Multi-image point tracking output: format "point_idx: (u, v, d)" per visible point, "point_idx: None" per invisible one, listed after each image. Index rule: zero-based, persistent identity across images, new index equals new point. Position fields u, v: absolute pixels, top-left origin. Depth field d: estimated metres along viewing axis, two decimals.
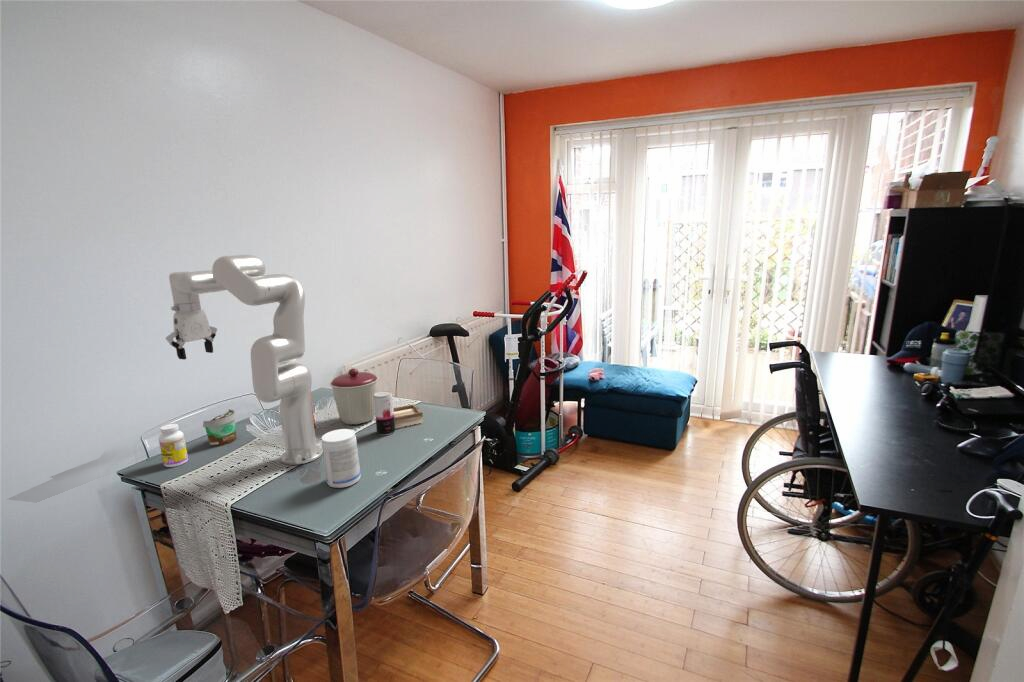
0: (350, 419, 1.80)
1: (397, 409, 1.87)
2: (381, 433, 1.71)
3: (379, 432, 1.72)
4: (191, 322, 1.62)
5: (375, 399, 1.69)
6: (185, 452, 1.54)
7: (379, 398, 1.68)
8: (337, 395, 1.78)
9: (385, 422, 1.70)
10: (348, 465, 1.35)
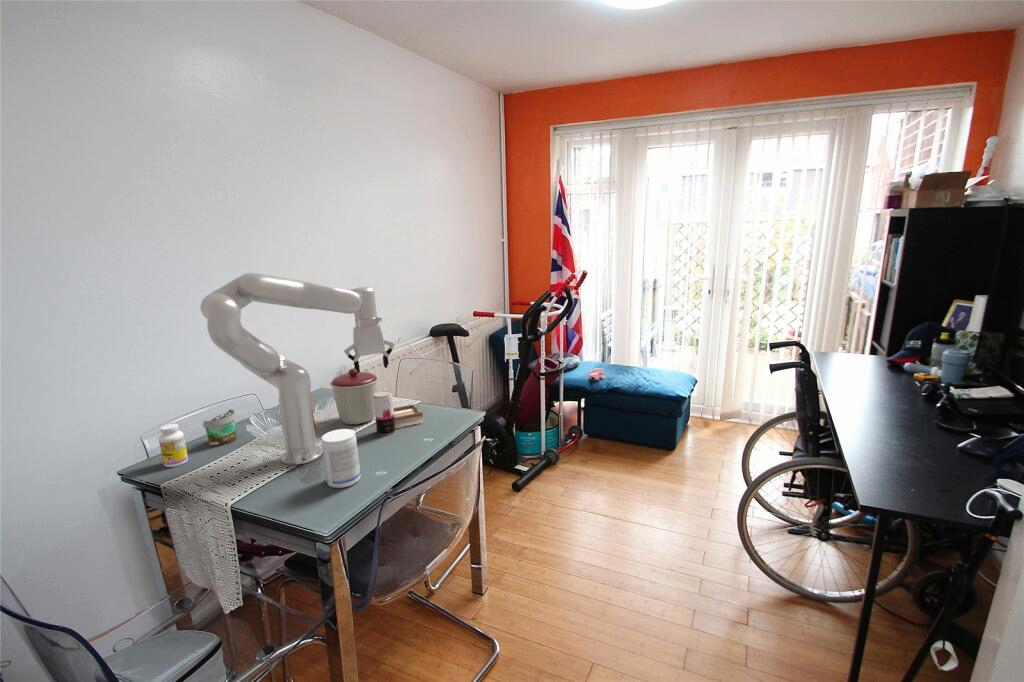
0: (350, 419, 1.80)
1: (397, 409, 1.87)
2: (381, 433, 1.71)
3: (379, 432, 1.72)
4: None
5: (375, 399, 1.69)
6: (185, 452, 1.54)
7: (379, 398, 1.68)
8: (337, 395, 1.78)
9: (385, 422, 1.70)
10: (348, 465, 1.35)
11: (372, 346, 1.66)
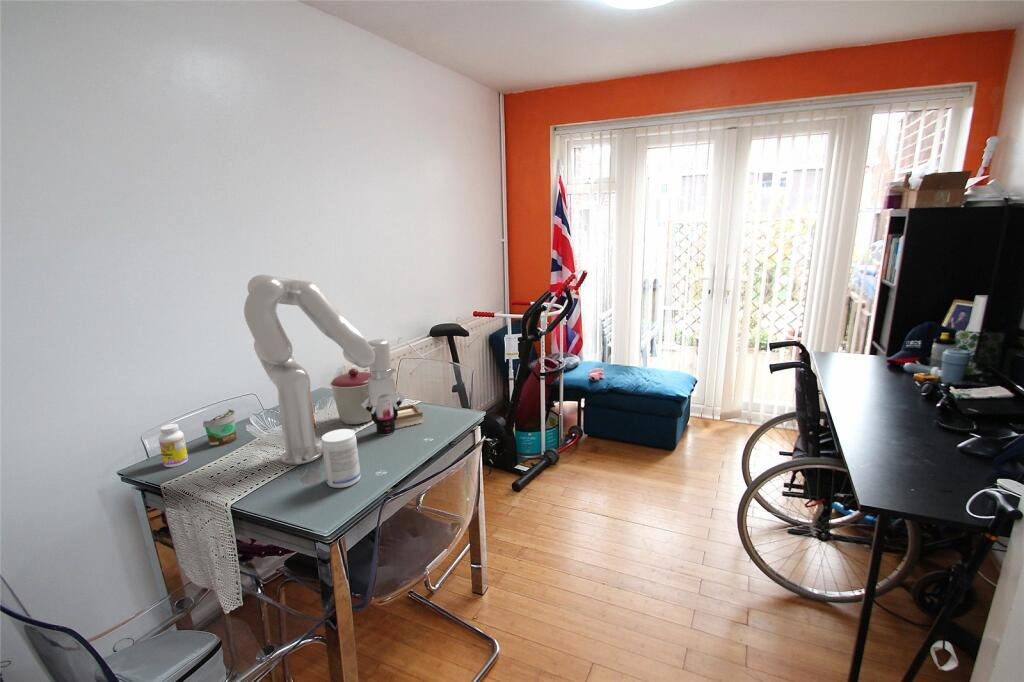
0: (350, 419, 1.80)
1: (397, 409, 1.87)
2: (381, 433, 1.71)
3: (379, 432, 1.72)
4: None
5: None
6: (185, 452, 1.54)
7: (379, 398, 1.68)
8: (337, 395, 1.78)
9: (385, 422, 1.70)
10: (348, 465, 1.35)
11: None
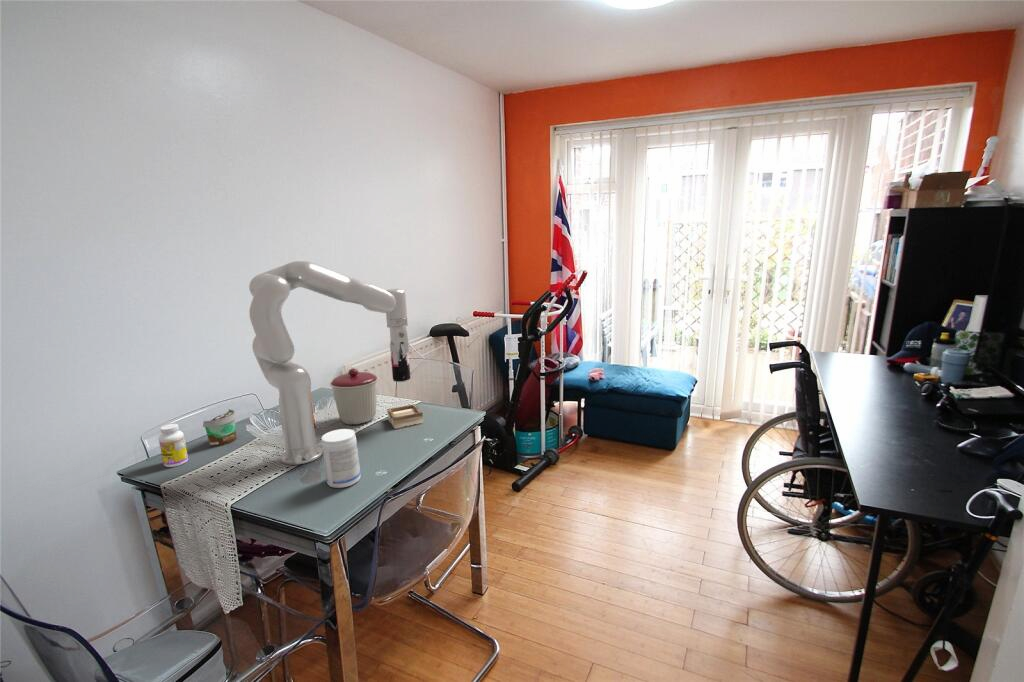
0: (350, 419, 1.80)
1: (397, 409, 1.87)
2: None
3: None
4: None
5: None
6: (185, 452, 1.54)
7: None
8: (337, 395, 1.78)
9: None
10: (348, 465, 1.35)
11: None
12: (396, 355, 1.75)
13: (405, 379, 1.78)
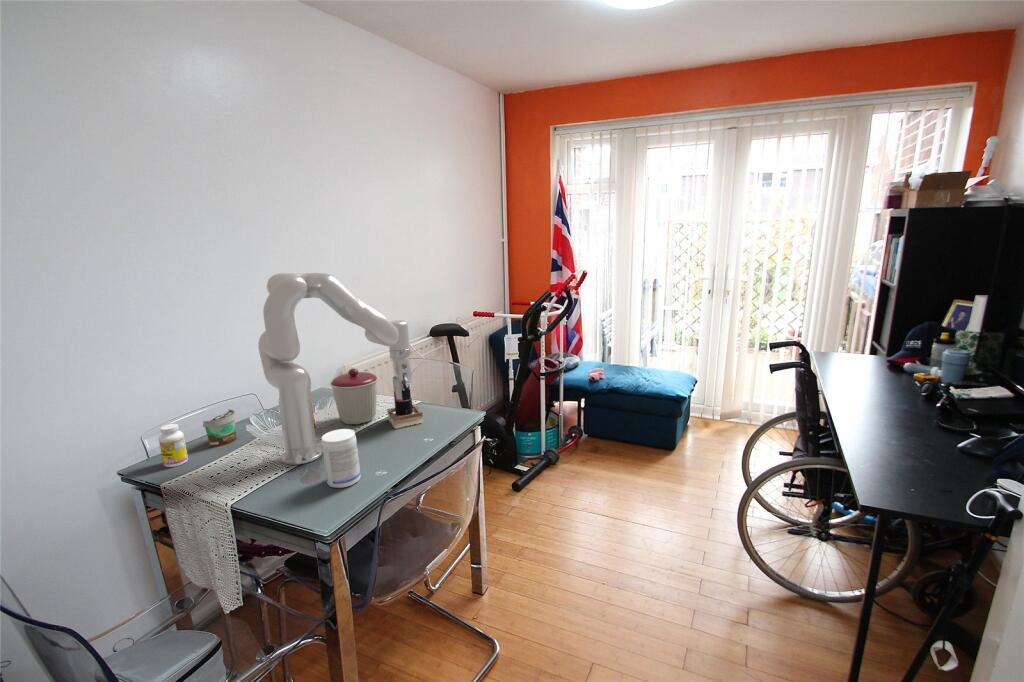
0: (350, 419, 1.80)
1: None
2: None
3: None
4: None
5: None
6: (185, 452, 1.54)
7: None
8: (337, 395, 1.78)
9: None
10: (348, 465, 1.35)
11: (395, 375, 1.79)
12: (399, 390, 1.78)
13: (408, 413, 1.81)
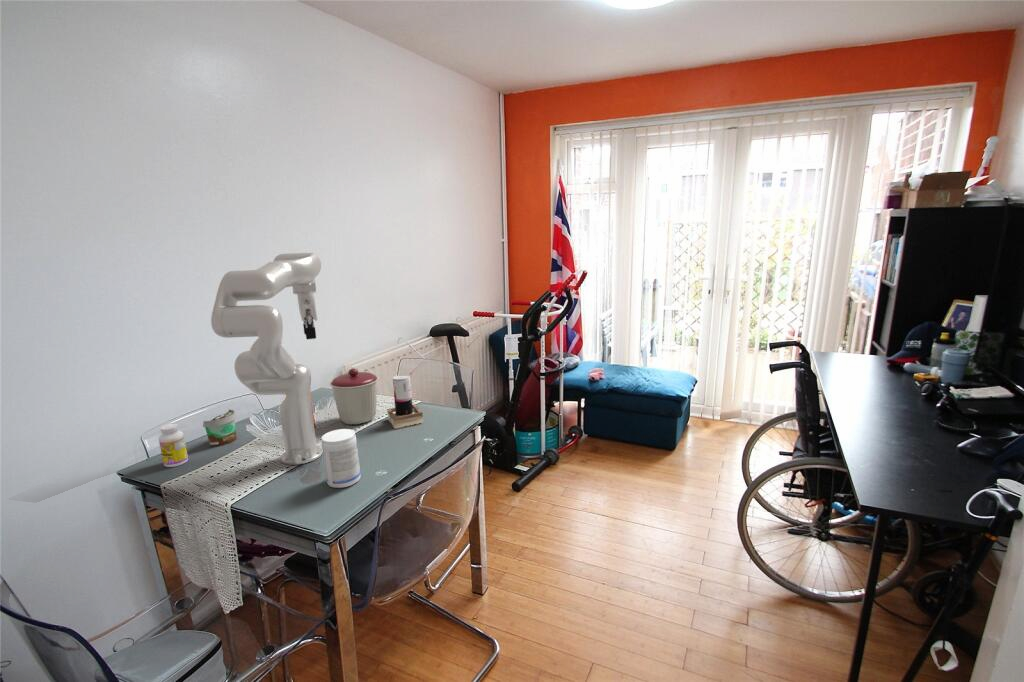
0: (350, 419, 1.80)
1: None
2: None
3: None
4: None
5: None
6: (185, 452, 1.54)
7: None
8: (337, 395, 1.78)
9: None
10: (348, 465, 1.35)
11: (300, 312, 1.66)
12: (399, 390, 1.78)
13: (408, 413, 1.81)
